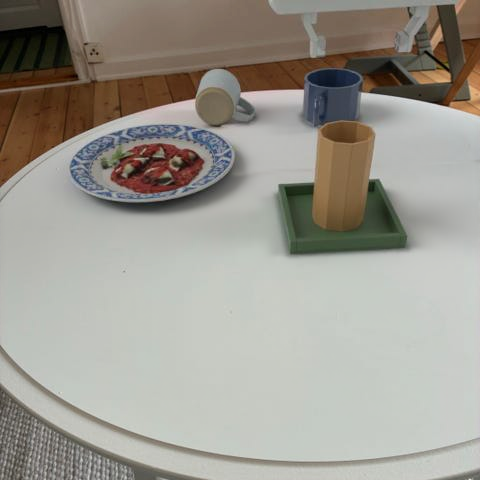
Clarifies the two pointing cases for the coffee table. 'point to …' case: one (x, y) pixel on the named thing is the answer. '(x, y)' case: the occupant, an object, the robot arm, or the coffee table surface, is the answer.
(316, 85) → the blue mug
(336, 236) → the green tray
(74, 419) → the coffee table surface
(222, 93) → the ceramic mug
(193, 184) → the ceramic plate
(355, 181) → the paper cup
